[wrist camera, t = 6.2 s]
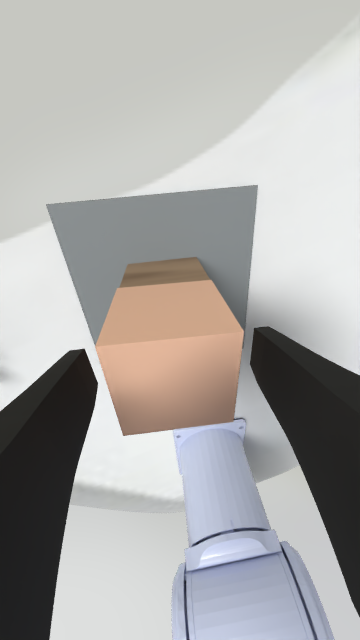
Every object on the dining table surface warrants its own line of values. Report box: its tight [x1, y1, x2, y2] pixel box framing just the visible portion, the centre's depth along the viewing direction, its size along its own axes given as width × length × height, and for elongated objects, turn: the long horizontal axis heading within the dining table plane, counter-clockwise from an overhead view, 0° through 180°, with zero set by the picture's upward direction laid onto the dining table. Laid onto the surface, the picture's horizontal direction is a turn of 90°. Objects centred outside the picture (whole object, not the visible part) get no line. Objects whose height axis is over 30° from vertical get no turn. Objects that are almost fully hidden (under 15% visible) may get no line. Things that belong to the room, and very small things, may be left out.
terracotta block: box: [95, 280, 244, 436], centre depth 10 cm, size 4×4×4 cm
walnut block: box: [119, 257, 210, 288], centre depth 14 cm, size 4×4×4 cm
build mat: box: [46, 185, 258, 348], centre depth 16 cm, size 12×12×1 cm
